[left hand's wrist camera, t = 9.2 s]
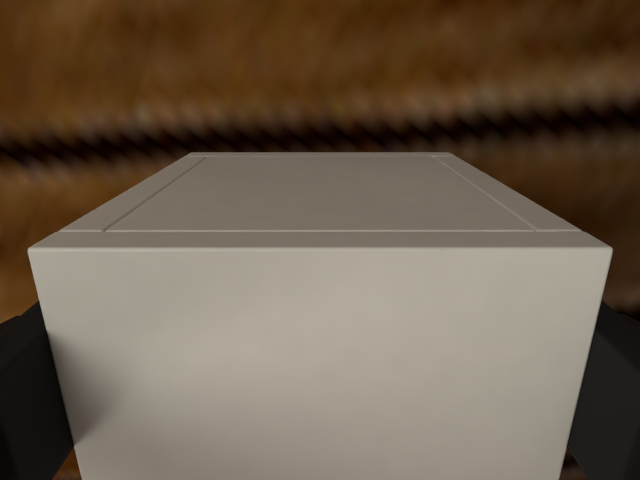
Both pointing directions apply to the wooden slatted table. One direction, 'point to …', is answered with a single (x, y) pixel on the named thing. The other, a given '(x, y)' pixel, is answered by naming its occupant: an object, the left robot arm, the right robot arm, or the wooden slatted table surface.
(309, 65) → the wooden slatted table surface
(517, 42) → the wooden slatted table surface
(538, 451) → the cabinet
